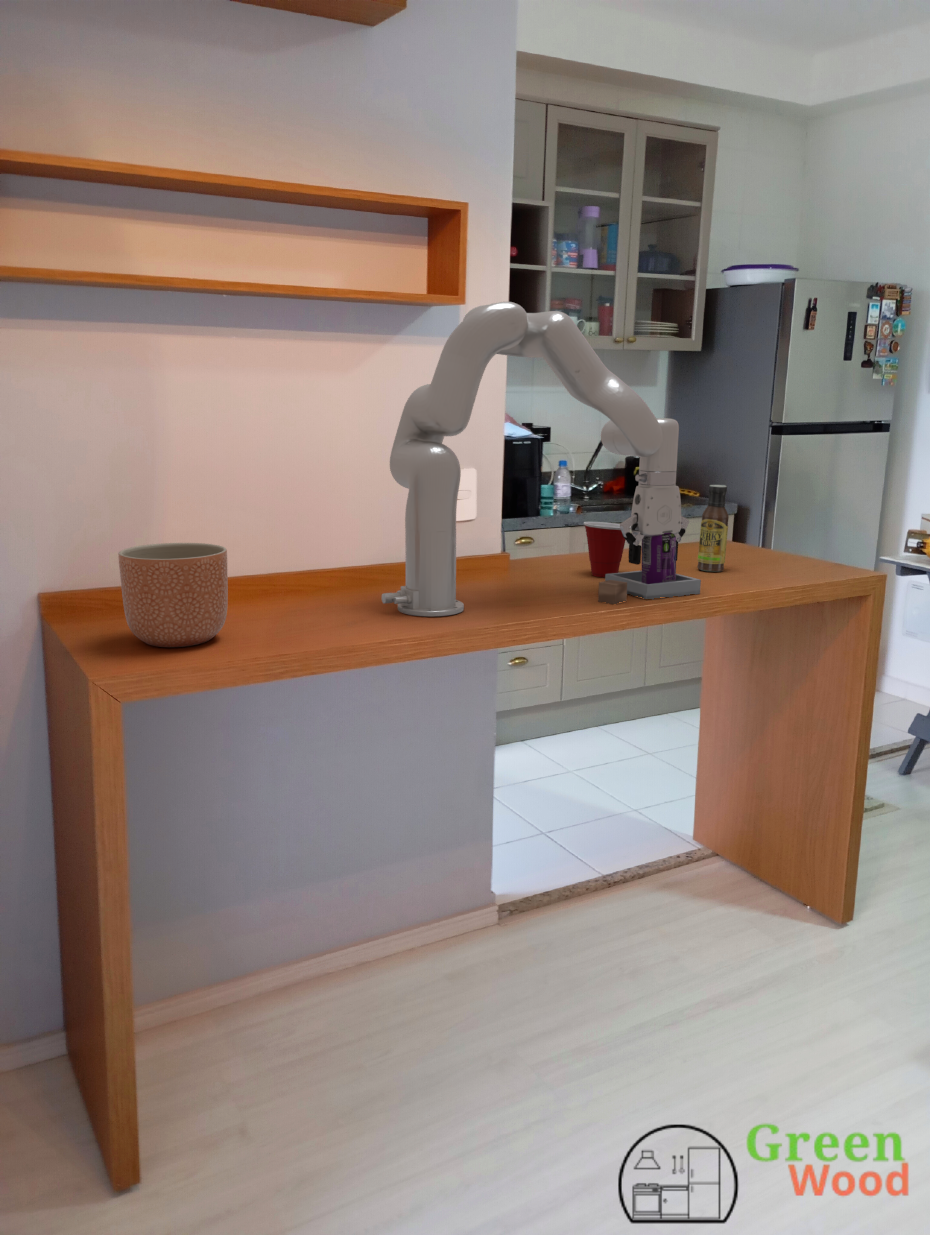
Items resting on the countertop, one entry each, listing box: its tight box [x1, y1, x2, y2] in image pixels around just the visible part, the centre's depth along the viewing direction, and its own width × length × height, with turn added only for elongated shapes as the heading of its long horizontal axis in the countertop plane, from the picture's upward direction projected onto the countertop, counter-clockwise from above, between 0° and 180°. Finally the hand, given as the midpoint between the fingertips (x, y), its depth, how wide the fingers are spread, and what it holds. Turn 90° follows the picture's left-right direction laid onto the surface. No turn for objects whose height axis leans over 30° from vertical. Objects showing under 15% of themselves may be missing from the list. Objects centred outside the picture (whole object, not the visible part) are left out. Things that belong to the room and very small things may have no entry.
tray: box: [604, 570, 702, 600], centre depth 211 cm, size 14×14×3 cm
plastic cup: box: [583, 521, 631, 578], centre depth 227 cm, size 11×11×12 cm
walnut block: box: [597, 580, 628, 605], centre depth 200 cm, size 4×4×4 cm
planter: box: [118, 542, 229, 648], centre depth 166 cm, size 17×17×15 cm
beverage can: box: [641, 530, 677, 584], centre depth 211 cm, size 7×7×12 cm
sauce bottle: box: [697, 484, 730, 573], centre depth 234 cm, size 6×6×20 cm
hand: (652, 561), depth 210 cm, fingers open, 9 cm apart
